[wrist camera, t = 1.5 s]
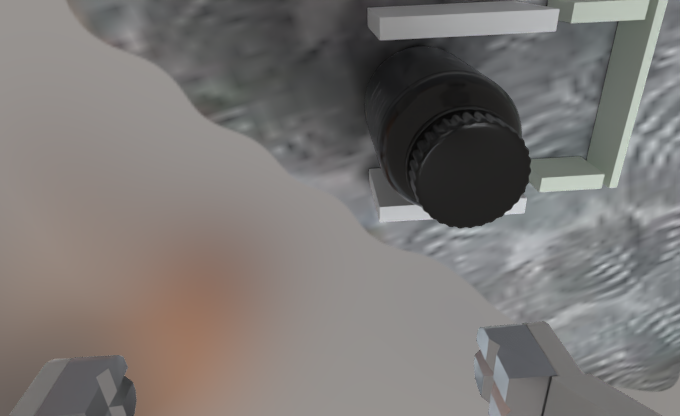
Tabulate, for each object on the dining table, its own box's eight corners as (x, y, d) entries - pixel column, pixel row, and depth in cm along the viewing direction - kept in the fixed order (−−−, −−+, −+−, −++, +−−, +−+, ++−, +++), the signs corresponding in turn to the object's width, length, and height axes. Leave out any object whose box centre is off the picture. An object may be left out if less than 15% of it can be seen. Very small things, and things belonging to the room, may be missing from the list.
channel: (367, 7, 26) (380, 17, 21) (514, 0, 26) (559, 8, 21) (369, 182, 31) (379, 222, 26) (491, 174, 32) (524, 213, 27)
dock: (548, -2, 26) (574, 2, 24) (633, -6, 26) (668, -2, 24) (520, 173, 32) (539, 192, 29) (591, 168, 32) (616, 187, 29)
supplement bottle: (474, 39, 27) (576, 88, 17) (465, 147, 30) (546, 245, 20) (359, 47, 27) (390, 100, 17) (362, 154, 30) (390, 256, 20)
